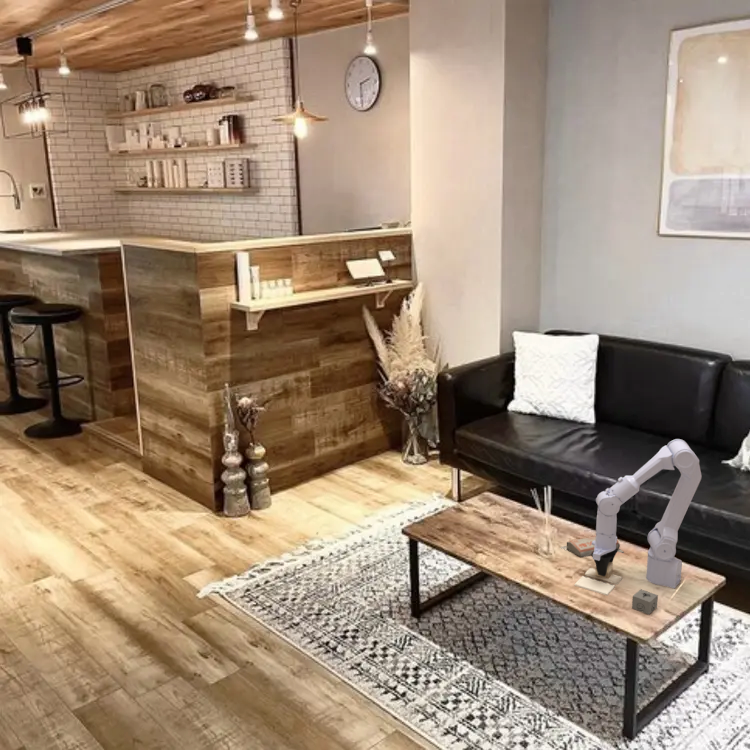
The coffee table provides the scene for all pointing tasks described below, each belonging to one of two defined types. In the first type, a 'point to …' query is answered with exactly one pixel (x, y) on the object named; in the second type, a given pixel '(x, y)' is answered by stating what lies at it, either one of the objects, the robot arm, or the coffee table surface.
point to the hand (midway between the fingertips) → (603, 572)
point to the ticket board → (594, 585)
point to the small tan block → (608, 577)
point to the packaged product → (584, 546)
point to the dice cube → (644, 601)
